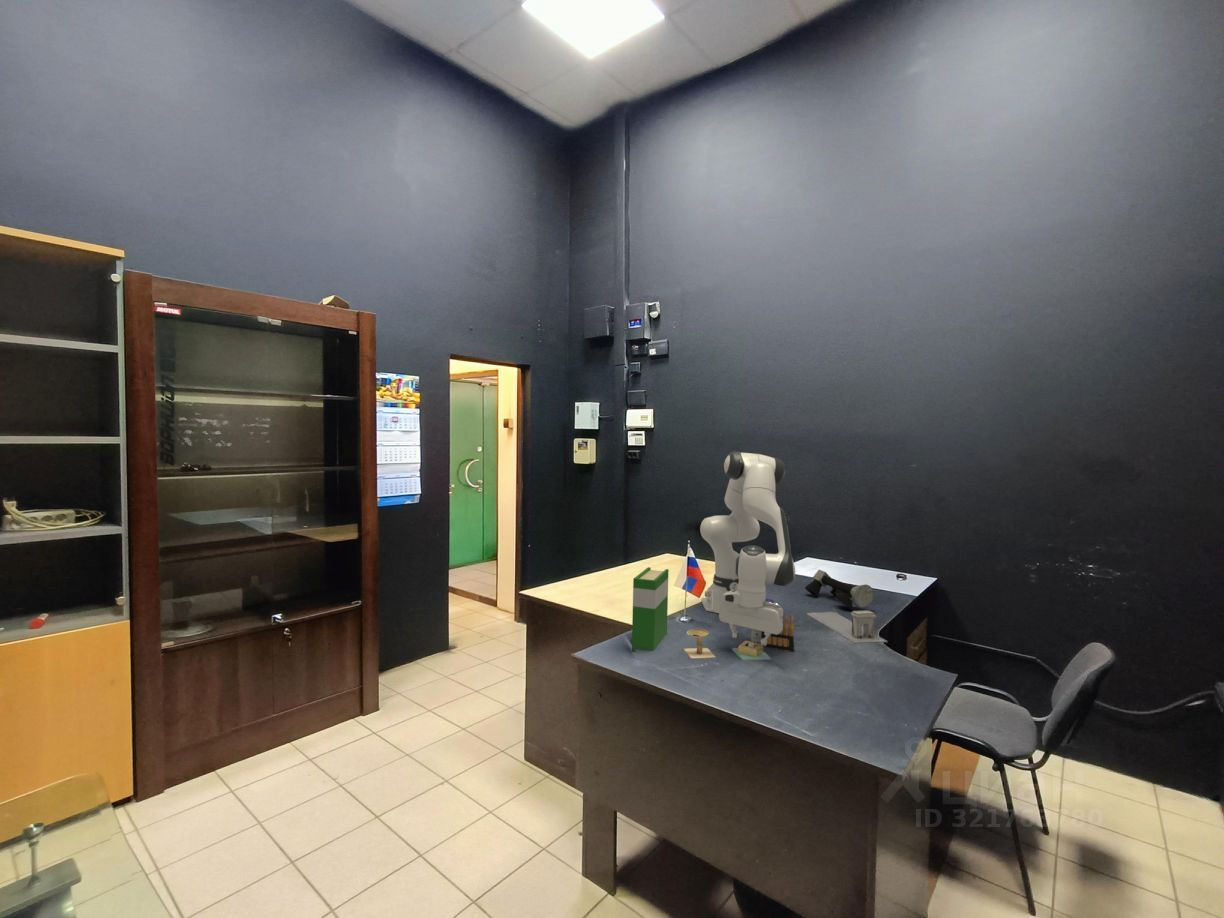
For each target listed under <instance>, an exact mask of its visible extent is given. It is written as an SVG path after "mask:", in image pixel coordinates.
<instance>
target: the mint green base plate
mask: <svg viewBox="0 0 1224 918" xmlns="http://www.w3.org/2000/svg"><path fill="white" fill-rule="evenodd" d="M752 642H753V641H750V642H749V643H748V647H752V648H754V643H755V642H754V643H752ZM731 651H733V653H734V654H736V655H737V656H738V657H739V658H740V659H741V660H742V661H743V662H745V661H746V662H747V661H764V660H766V661H767V660H769V661H771V657H770V656H769V655H768V654H767V653H766V652H765V651H763V653H762V654H761V655H759V656H758V657H757V658H755V657H751V656H747V655H743V654H739V653H738V647H731Z"/></svg>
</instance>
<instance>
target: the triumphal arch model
mask: <svg viewBox="0 0 1224 918" xmlns="http://www.w3.org/2000/svg"><path fill="white" fill-rule="evenodd" d="M806 615H807V616H809V617H810V618H812V619H814V620H815V621H818V622H819V623H820V624H822V625H824V626H826V627H827V628H829V629H831V630H832V631H834V632H836V634H838V635H840V636H842V637H843V638H845V639H847V640H849V641H850V642H851V643H853V644H869V643H868V642H878V643H888V640H886V639H885V638H883V637H881V636H878V635H877V636H875V637H874V634H875V633H874V631H875V618H876V617H877V615H876V614H875V612H872V611H871V610H852V612H850V616H852V617H851V619H852V621H851V620H850V619H847V618H846V617H844V616H842V615H841V614H839V613H837V612H835V611H831V612H830V611H827V612H826V611H825V612H806ZM863 628H864V630H863ZM878 638H879V640H878Z"/></svg>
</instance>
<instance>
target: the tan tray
mask: <svg viewBox="0 0 1224 918" xmlns="http://www.w3.org/2000/svg"><path fill="white" fill-rule="evenodd" d="M749 642H752V643H754V648H752V647H748V643H749ZM763 646H764V645H761V643H759V642H753V641H751V640H744V641H743V642H741V643H740V644H739V645H738V647H737V648H738V653H739V654H743V655H747V656H751V657H755V658H757V657H758V656H759V655H761V654H762V653H763V652H764V647H763Z"/></svg>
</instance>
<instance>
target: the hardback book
mask: <svg viewBox="0 0 1224 918" xmlns="http://www.w3.org/2000/svg"><path fill="white" fill-rule="evenodd" d="M651 568H652V567H649V566H648V567H646V568H645V569H644V570H643V571H641V572H639V574H637V575H636V576H635V577H634V578H633V580H632V581H633V582H632V622H631V624H632V628H631V632H632V633H631V652H632V653H635V652H636V650H635V649H641V650H647V651H653V652H654V651H655V650H656V649H657V647H658V646H659V645H660V643H661V642H662V640H663V639H664V638H665V636H666V635H667V634H668V610H669V609H668V605H669V601H668V600H669V572H670V571H669V569H667V568H665V570H657V569H651ZM636 653H637V652H636Z"/></svg>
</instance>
